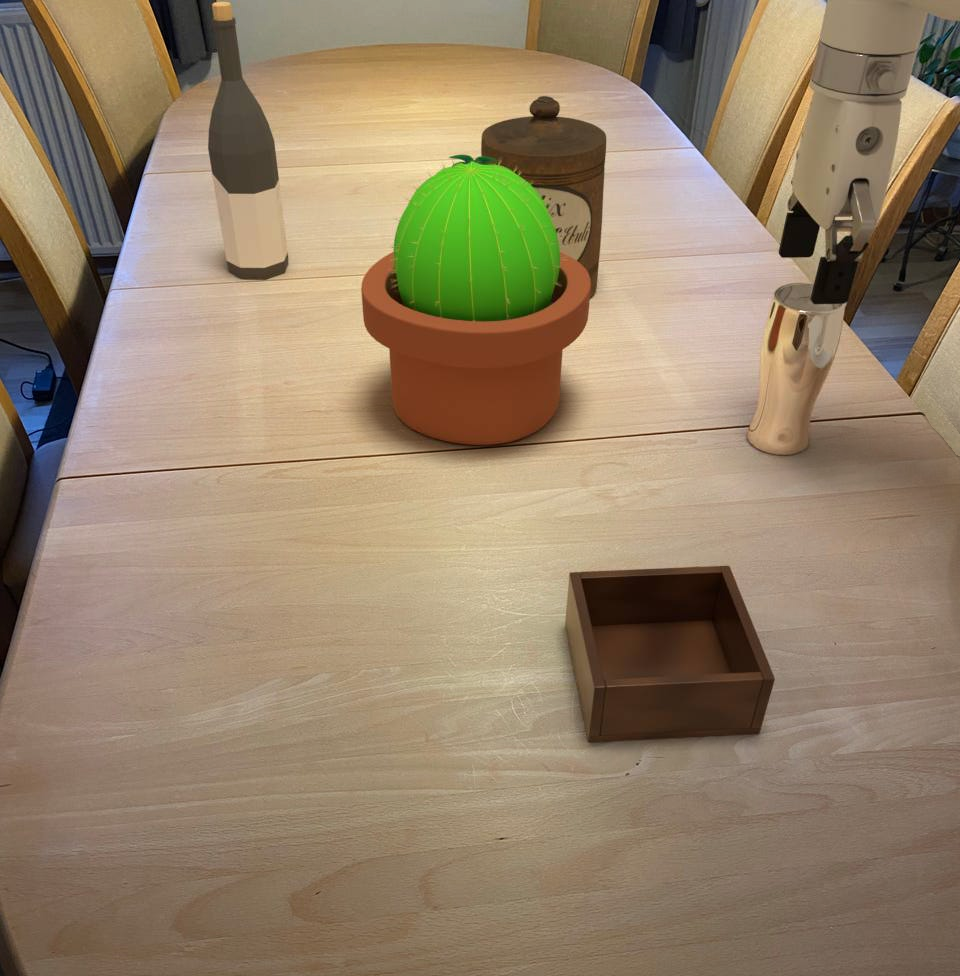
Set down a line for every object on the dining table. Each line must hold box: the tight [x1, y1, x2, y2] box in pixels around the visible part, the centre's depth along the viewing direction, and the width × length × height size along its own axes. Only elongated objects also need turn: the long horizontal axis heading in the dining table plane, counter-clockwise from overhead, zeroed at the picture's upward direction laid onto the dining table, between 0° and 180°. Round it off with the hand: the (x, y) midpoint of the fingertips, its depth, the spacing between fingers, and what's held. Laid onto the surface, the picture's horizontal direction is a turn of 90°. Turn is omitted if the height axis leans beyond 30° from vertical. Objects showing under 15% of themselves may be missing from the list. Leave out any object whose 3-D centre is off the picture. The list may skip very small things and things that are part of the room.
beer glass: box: [746, 282, 848, 456], centre depth 99 cm, size 7×7×15 cm
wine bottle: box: [207, 1, 289, 280], centre depth 125 cm, size 8×8×30 cm
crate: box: [564, 565, 776, 743], centre depth 77 cm, size 13×13×6 cm
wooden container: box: [480, 95, 607, 298], centre depth 123 cm, size 15×15×22 cm
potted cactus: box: [360, 154, 591, 446], centre depth 101 cm, size 22×22×25 cm
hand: (811, 278), depth 93 cm, fingers open, 9 cm apart
